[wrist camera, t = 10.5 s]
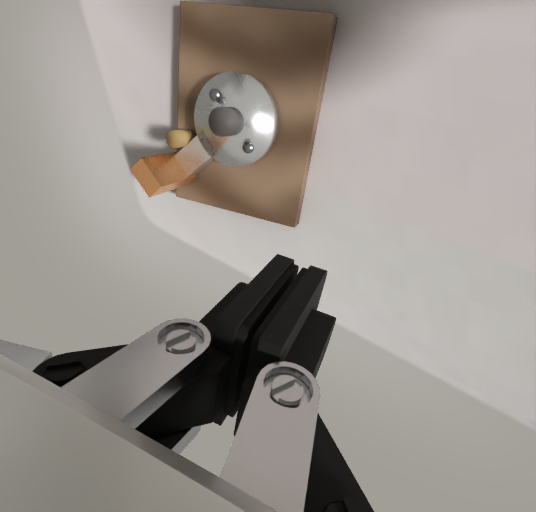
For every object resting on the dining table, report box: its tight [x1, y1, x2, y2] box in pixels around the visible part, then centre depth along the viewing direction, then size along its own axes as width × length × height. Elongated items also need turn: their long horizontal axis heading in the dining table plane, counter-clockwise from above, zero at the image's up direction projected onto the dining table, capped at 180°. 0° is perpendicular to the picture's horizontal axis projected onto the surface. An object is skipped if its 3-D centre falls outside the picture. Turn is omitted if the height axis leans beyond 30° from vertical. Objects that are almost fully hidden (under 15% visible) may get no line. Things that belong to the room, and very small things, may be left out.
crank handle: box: [130, 71, 280, 197], centre depth 31 cm, size 13×8×6 cm, turn 125°
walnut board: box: [166, 1, 337, 227], centre depth 31 cm, size 18×14×6 cm
